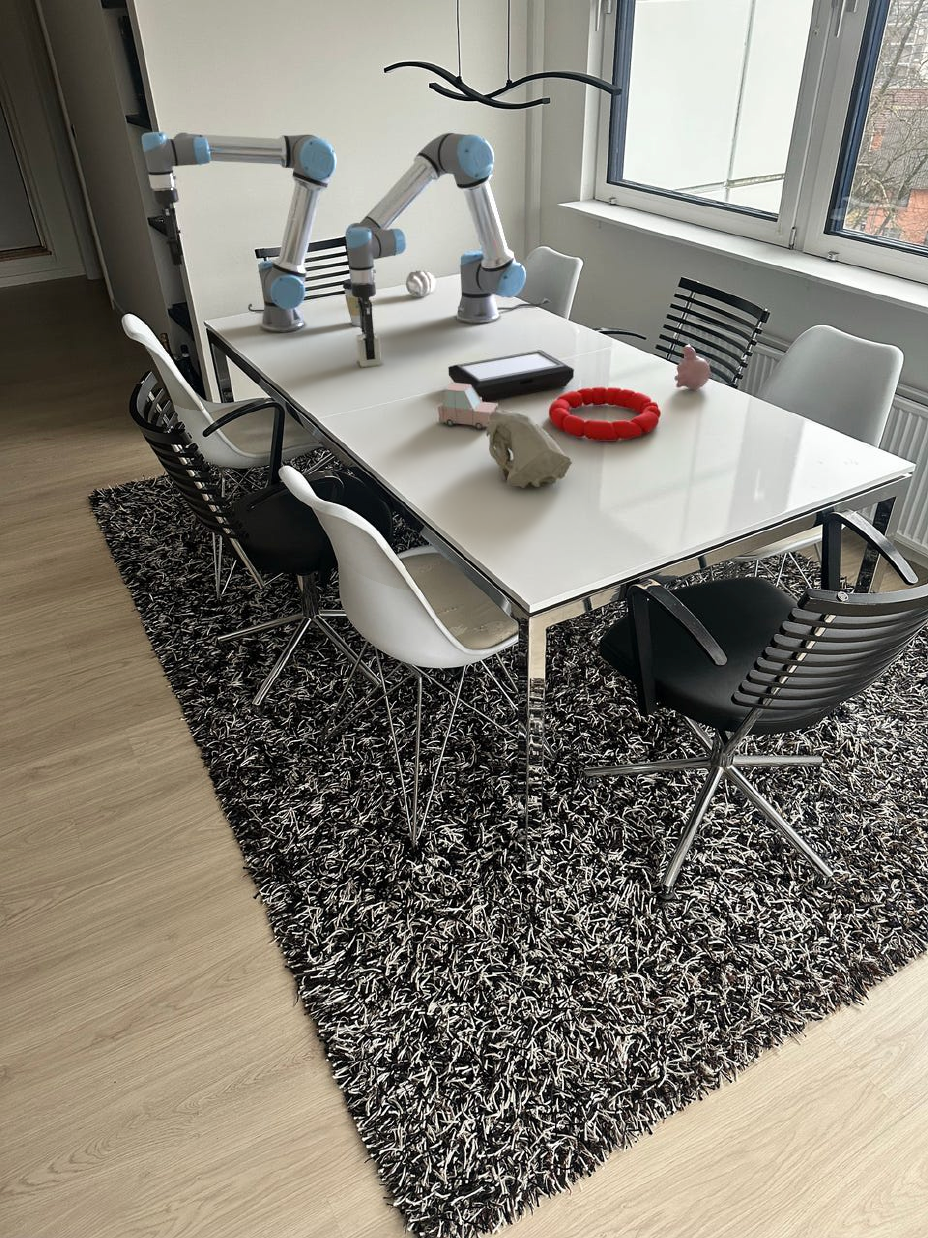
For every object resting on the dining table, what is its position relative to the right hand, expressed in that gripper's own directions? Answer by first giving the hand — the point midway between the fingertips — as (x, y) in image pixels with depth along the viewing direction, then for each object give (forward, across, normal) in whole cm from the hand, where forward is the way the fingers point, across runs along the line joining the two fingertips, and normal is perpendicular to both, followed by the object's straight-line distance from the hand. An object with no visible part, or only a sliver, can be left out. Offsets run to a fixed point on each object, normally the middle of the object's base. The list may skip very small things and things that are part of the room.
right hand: (369, 355), depth 289 cm
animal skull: (+2, -92, -23) cm, 95 cm away
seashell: (+3, +74, -32) cm, 80 cm away
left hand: (-27, +34, +56) cm, 70 cm away
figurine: (+2, -54, -87) cm, 102 cm away
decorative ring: (+2, -70, -54) cm, 88 cm away
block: (+2, 0, 0) cm, 2 cm away
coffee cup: (+2, +45, -3) cm, 45 cm away
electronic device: (+2, -35, -38) cm, 51 cm away
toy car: (+2, -59, -18) cm, 62 cm away
